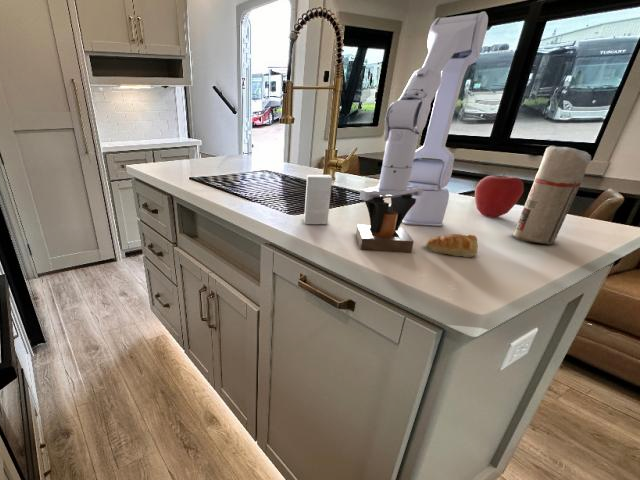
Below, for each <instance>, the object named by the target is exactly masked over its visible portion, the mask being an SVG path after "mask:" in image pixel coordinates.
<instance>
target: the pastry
mask: <svg viewBox="0 0 640 480" xmlns="http://www.w3.org/2000/svg"><path fill="white" fill-rule="evenodd" d="M425 247H426V248H428V249H429V250H430V251H432V252H434V253H437V254H444V255H449V256H454V257H460V256H461V257H464V258H470V257H475V255H477V254H478V251H479V248H478V247H479V244H478V238H477V236H476V235H475V234H473V235H472V234H468V235H467V234H463V233H451V234H445V235H438V236H434V237H431V238H429V239H428V240H427V241H426V243H425Z"/></svg>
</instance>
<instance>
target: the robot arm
mask: <svg viewBox="0 0 640 480" xmlns="http://www.w3.org/2000/svg"><path fill="white" fill-rule="evenodd" d="M488 23H489V16H488V14H487V12H486V11H481V12H479V13H470V14H464V15H463V14H462V15H456V16H449V17H437V18H435V19H434V21H433V22H432V24H431V25H430V28H429V31H428V36H427V49H428V53H427V56H426V58H425V60H424V63H423V65H422V67H420V68H418V69H417V70H415V71H414V72H413V74H412V75H411V77H410V79H409V80H408V83H407V84H406V86H405V88H404V90H403V92H402V94H401V95H400V97H399V98H398V99H396V100H394V102H391V103H390V104H389V106H388V109H387V111H386V115H385V118H384V129H385V134H384V141H385V142H386V143H385V146H384V147H385V148H384V153H383V159H382V165H381V170H380V171H381V172H380V175H379V182H378V184H377V185H376V186H375V187H374V186H373V187H368V188H363V189H362V188H361V189H360V190H359V191H360V192H359V197H358V199H359V200H362V201H364V203H365V205H366V209H367V211H368V216H369V225H371V231H373V232H375V233H379V231H380V229H381V224H382V220H383V217H384V214H385V211H386V209H387V207H388V206H389V204H391V205H394V211H396V212H398V213H399V214H398V218H397V223H396V228H395V231H397V230H398V228H399V227H401V224H402V223H403V224H404V225H413V226H414V225H416V226H434V227H435V226H437V227H443V225H444V223H443V222H444V218H445V214H446V210H447V208H448V203H449V199H450V192H449V190H448V188H445V187H446V186H447V185H448V184H449V182H450V181H451V177H452V173H453V170H454V162H455V156H454V154H453V152H451V151H450V149H448V147H447V146H446V143H447V140H448V136H449V132H450V129H451V126H452V122H453V118H454V115H455V110H456V107H457V103H458V99H459V95H460V93H461V89H462V86H463V85H462V84H463V81H464V77H465V75H466V72H467V70H468V68H469V66H471V65H473V64H475V63H476V62H477V61H478V60H479V57H480V55H481V52H482V48H483V46H484V45H483V44H484V41H485V37H486V34H487V29H488ZM433 100H434V102H433ZM432 102H433V107H432V111H431V103H432ZM430 112H431V115H430V119H429V123H428V126H427V131H426V135H425V139H424V143H423V146H421V147H419V148H418V149H417V146H418V140H419V137H420V134H421V133H422V132H423V130H424V128H425V127H426V124H427V122H428V117H429V114H430ZM422 158H423V159H422ZM431 159H433V160H431ZM385 199H390V203H389V202H386V201H385Z"/></svg>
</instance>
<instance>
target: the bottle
mask: <svg viewBox="0 0 640 480" xmlns="http://www.w3.org/2000/svg"><path fill="white" fill-rule="evenodd" d="M398 214H399V213H398V212H396V211H394V205H391V203H389V206H388V207H387V209H386V211H385V214H384V217H383V220H382V224H381V229H380V231H379V233H375V232H373V236H387V237H394V233H395V228H396V223H397V218H398Z"/></svg>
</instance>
